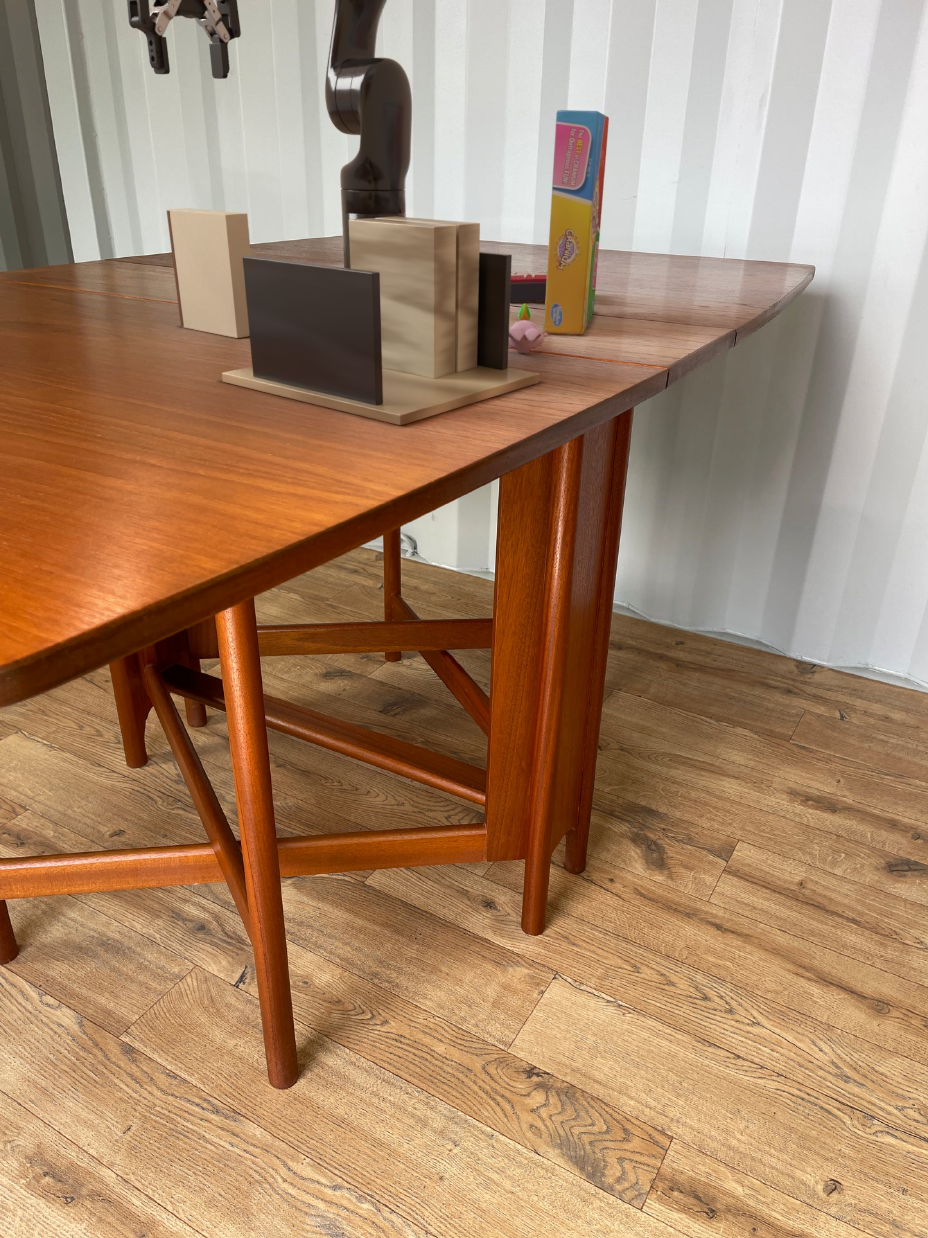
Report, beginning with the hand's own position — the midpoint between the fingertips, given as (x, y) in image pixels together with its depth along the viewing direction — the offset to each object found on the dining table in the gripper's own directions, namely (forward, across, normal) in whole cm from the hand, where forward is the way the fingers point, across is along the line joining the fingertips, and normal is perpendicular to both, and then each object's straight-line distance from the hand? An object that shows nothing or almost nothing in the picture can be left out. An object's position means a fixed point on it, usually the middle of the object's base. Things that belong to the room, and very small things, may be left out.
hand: (192, 76), depth 112 cm
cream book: (+30, 0, 0) cm, 30 cm away
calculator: (+30, +55, -16) cm, 65 cm away
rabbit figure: (+30, +17, -39) cm, 52 cm away
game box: (+30, +39, -32) cm, 59 cm away
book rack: (+30, -7, -37) cm, 48 cm away
